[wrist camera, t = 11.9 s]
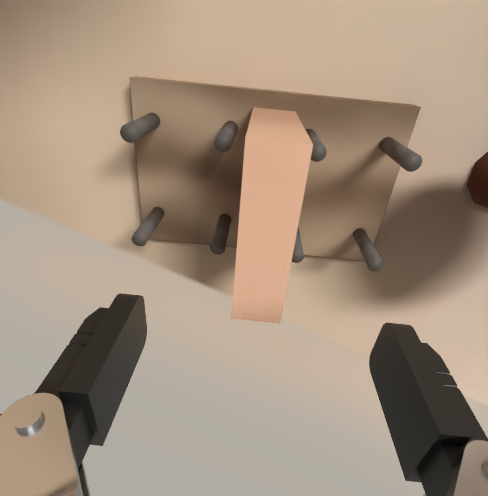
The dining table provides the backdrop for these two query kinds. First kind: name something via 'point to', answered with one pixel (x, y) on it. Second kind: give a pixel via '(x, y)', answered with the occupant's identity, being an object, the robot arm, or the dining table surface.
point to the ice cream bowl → (479, 182)
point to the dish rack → (232, 156)
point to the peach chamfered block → (269, 212)
